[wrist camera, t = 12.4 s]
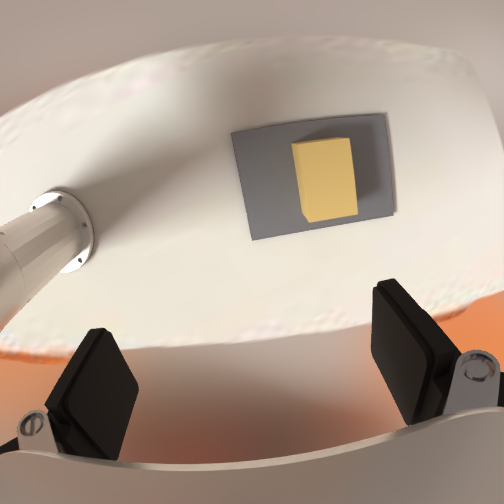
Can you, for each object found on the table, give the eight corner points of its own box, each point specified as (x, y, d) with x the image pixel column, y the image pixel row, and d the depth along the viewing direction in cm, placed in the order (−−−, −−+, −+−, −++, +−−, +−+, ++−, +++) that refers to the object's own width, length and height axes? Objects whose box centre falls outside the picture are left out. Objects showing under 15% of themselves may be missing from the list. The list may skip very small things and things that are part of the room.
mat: (252, 239, 41) (252, 240, 40) (231, 133, 36) (230, 133, 35) (391, 214, 40) (393, 215, 39) (382, 114, 35) (384, 114, 34)
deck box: (291, 143, 36) (297, 144, 31) (337, 137, 35) (349, 138, 31) (302, 212, 39) (309, 222, 35) (346, 205, 39) (357, 214, 35)
